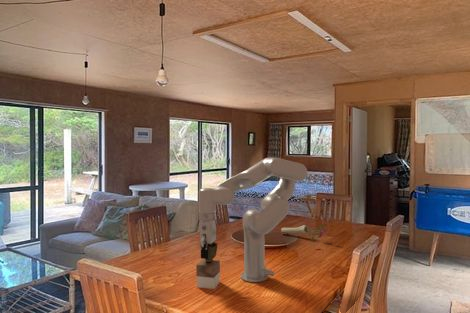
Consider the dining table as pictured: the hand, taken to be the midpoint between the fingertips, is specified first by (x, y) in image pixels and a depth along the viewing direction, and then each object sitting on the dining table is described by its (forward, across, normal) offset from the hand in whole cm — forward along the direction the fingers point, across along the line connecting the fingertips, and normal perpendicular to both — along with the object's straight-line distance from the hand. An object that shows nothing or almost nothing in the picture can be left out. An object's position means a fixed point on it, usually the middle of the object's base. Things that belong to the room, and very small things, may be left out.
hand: (207, 254), depth 153 cm
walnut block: (+8, 0, 0) cm, 8 cm away
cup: (+3, +1, 0) cm, 4 cm away
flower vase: (+13, +86, -41) cm, 96 cm away
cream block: (+13, 0, 0) cm, 13 cm away
